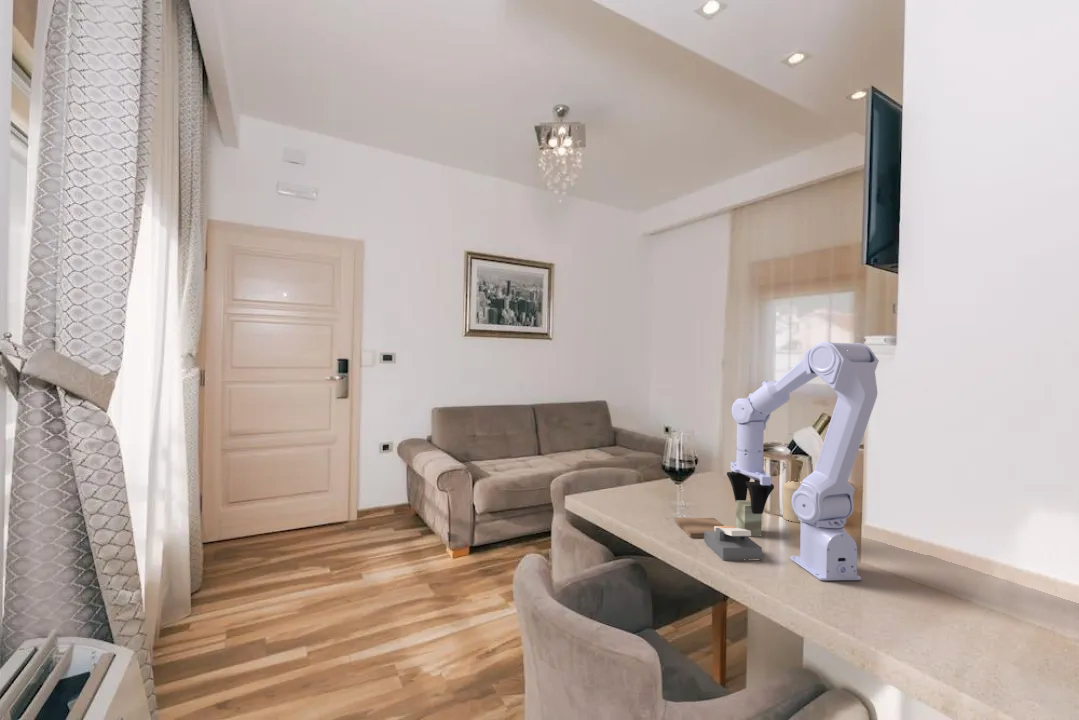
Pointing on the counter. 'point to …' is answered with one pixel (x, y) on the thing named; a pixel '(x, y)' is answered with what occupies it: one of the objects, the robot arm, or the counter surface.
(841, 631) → the counter surface
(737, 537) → the switch base
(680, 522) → the walnut board
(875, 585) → the counter surface
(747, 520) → the block
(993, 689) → the counter surface
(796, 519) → the candle
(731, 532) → the rocker
